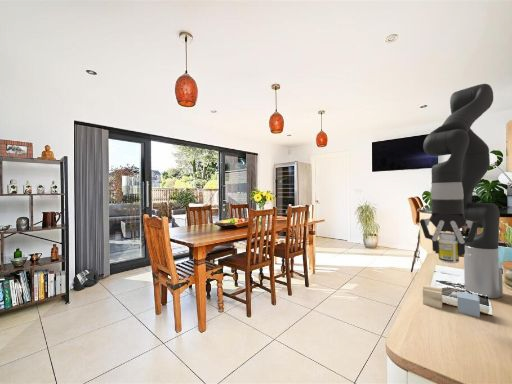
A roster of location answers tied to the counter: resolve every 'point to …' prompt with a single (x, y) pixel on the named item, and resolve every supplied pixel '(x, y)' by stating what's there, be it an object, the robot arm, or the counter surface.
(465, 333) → the counter surface
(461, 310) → the slate cube
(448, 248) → the supplement bottle
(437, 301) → the beech cube
